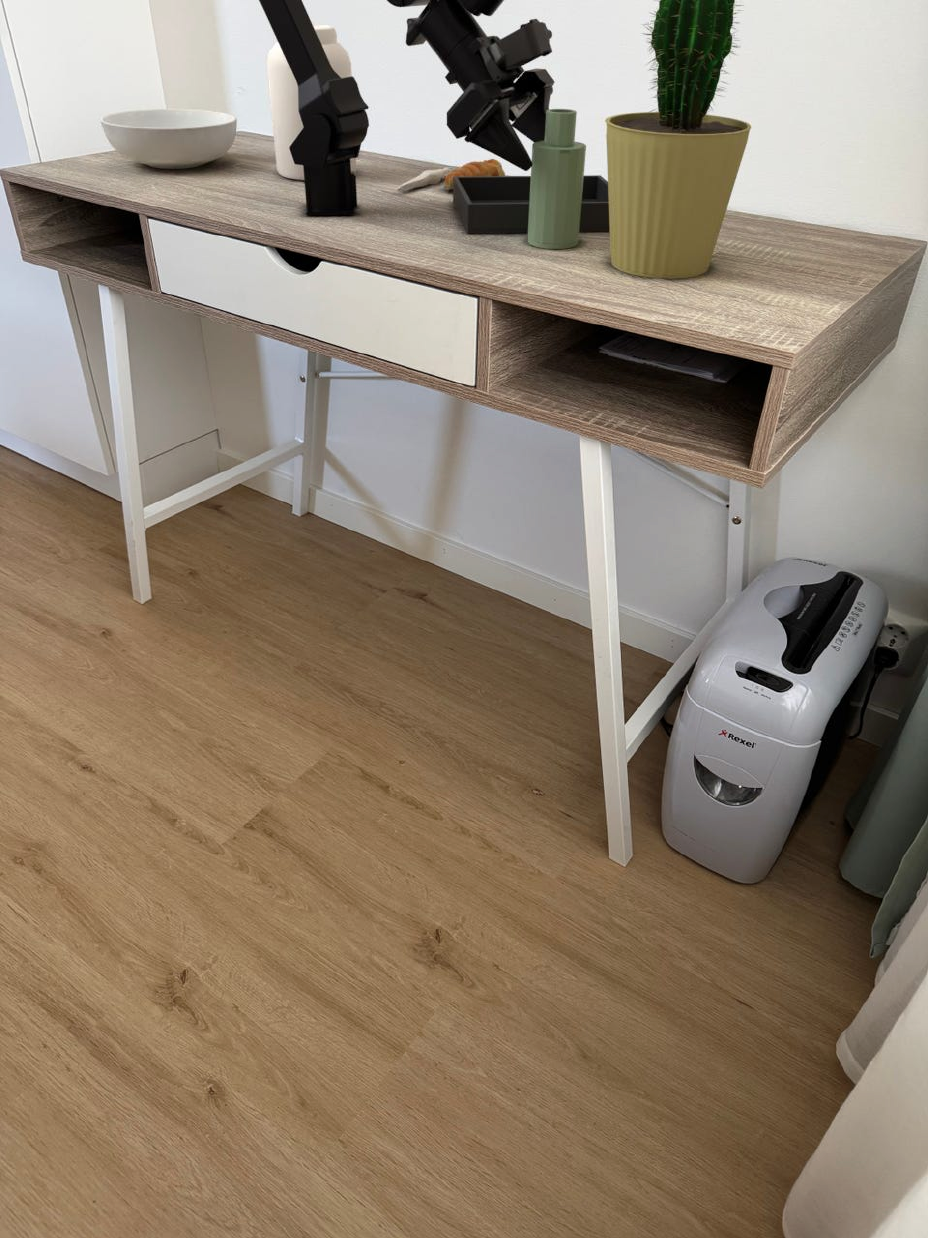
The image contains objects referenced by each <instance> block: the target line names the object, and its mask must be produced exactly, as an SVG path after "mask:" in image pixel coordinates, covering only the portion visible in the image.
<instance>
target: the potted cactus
mask: <svg viewBox="0 0 928 1238" xmlns="http://www.w3.org/2000/svg"><path fill="white" fill-rule="evenodd" d="M654 2H658V8H656V10H657V11H655V10H652V11H653V12H654V13H652V12H650V11H649V12H648V13H649V14H651V15H654V16H650V17H653V18H654V17H655V18H654V19H653V20H651V23H653V26H650V25H648V23H643V24H640V25H642V26H643V27H644V28H646V29H647V30H648V31H649V33H647V36H651V38H650V37H648V38H646V40H647V44H650V47H649V48H648V49H649V50H648V51H650V52H649V54H648V56H649V55H650V54H651V53H652V52H655V53H654V55H655V56H654V58H653V59H651V60H650V61H649V62H648V63H647V64H646V65H648V64H650V63H651V67H652V68H653V69H652V68H649V69H647V72H649V71H653V72H656V73H654V74H653V75H654V76H655V78H653V81H651V82H649V83H650V84H651V85H653V86H652V87H650V88H649V91H650V90H651V91H652V90H654V89H656V87H657V89H656V94H655V95H654V96H652V97H651V99H655V98H656V99H657V101H656V102H657V108H655V109H652V110H650V111H645V112H644V111H643V112H629V113H620V114H614V115H611V116H608V117H606V118H605V120H604V122H605V123H606V135H605V136H606V138H605V139H606V159H607V164H606V165H607V181H608V196H609V227H610V232H609V253H610V254H609V256H610V258H609V259H610V262H611V263H610V264H611V265H612V266H613V267H614V268H615V269H617V270H618V271H620V272H623V273H626V274H629V275H634V276H639V277H644V278H651V279H686V278H692V277H698V276H700V275H703V274H705V273H706V272H707V271H708V269H709V267H710V265H711V262H712V258H713V255H714V251H715V248H716V245H717V242H718V239H719V235H720V232H721V229H722V225H723V222H724V218H725V215H726V213H727V210H728V207H729V202H730V201H731V197H732V194H733V193H732V192H733V189H734V186H735V183H736V179H737V176H738V174H739V170H740V166H741V164H742V161H743V157H744V154H745V151H746V147H747V144H748V141H749V136H750V131H751V129H752V125H751V124H750V123H748V122H747V121H744V120H740V119H737V118H732V117H727V116H721V115H715V114H714V115H713V114H709V113H710V110H711V111H712V112H713V113H715V112H714V108H713V107H712V106H711V103H713V105H715V102H714V101H713V100H714V99H716V97H715V95H716V96H717V97H718V96H719V97H721V95H720V94H717V93H716V92H719V91H720V92H726V93H727V91H726V90H727V88H726V87H725V88H724V87H723V86H721V87H720V86H719V85H718V84H719V83H720V82H721V83H724V84H728V85H729V83H728V82H725V81H722V80H720V78H721V72H723V73H722V75H725V74H728V75H729V74H730V72H727V71H726V70H724V67H725V65H726V64H725V59H726V58H727V57H728V56H729V58H730V59H732V58H731V55H734V56H739V55H738V54H736V53H735V52H734V51H733V48H736V49H740V46H738V43H734V42H736V41H737V42H739V41H740V39H738V37H737V38H735V37H736V35H735V32H731V30H732V29H734V30H735V31H736V32H738V31H739V30H737V28H735V25H734V24H737V25H739V24H740V22H737V21H734V19H735V18H736V16H735V17H734V15H736V14H737V12H739V11H740V12H741V11H744V10H742V9H738V10H737V9H736V7H742V6H744V4H735V3H736V1H735V0H654ZM741 2H742V3H743V2H744V1H741ZM734 11H735V12H734ZM645 25H646V26H647V27H646V26H645ZM640 34H642V35H646V33H643V32H642V33H641V32H640ZM733 41H734V42H733ZM730 54H731V55H730ZM652 62H653V63H652ZM646 65H645V66H646ZM722 68H723V69H722ZM730 75H731V74H730ZM656 76H657V77H656ZM722 97H723V98H724V97H725V96H723V95H722ZM656 110H657V111H656Z"/></svg>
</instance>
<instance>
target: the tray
mask: <svg viewBox="0 0 928 1238" xmlns="http://www.w3.org/2000/svg"><path fill="white" fill-rule="evenodd" d="M530 181H531V175H505V176H474V177H453V189H452V196H453V197H452V203H453V204H452V205H453V206H454V208H455V210H456V212H457V215H458V216H459V219H460V221H461V223H462V225H463V227H464V229H465V231H466V233H467V234H468V235H471V234H473V235H474V234H475V235H477V234H478V235H479V234H481V235H482V234H528V220H529V201H530ZM603 232H604V233H606V232H607V233H608V232H609V233H610V227H609V196H608V179H605V178H604V177H603V176H602V175H601V174H600V175H597V174H596V175H595V174H594V175H593V174H592V175H591V174H590V175H584V178H583V190H582V202H581V214H580V226H579V233H603Z"/></svg>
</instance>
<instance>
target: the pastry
mask: <svg viewBox="0 0 928 1238" xmlns="http://www.w3.org/2000/svg"><path fill="white" fill-rule="evenodd" d="M445 176H446V177H445V178H444V184H443V187H444V189H446V188H447V189H449V190H450V189H451V190H453V177H474V176H506V172H505V171H504V169H503V166H502V163H501V162H500V161H499V160H497V159H495V158H490V159H487V160H486V159H484V160H483V161H481V160H480V161H476V160H475V161H469V162H467V163H465V164H463V165H462V166H460V167H458V168H455V169H453V170H452V171H451V172H449V173H448V174H445Z"/></svg>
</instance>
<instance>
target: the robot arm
mask: <svg viewBox="0 0 928 1238" xmlns="http://www.w3.org/2000/svg"><path fill="white" fill-rule="evenodd" d="M386 1H387V2H388V3H389V4H390V5H392V6H393V7H397V8H408V7H421V6H422V7H423V6H425V7H424V8H423V10H422V11H421V12H420V14H419V15H418V17H409V18H407V19H406V28H407V29H406V34H405V45H406V46H407V47H413V46H419V45H423V44H425V43H426V42H427V44H428V45H429V46H430V48H431V49H432V51H433V52H434V53H435V55H436V56H437V58H438V59H439V60H440V62H441V63H442V64H443V66H444V67H445V68H446V70H447V71H448V72H447V74H445V76H444V78H445V80H446V81H447V83H448V84H449V85H454V84H455V85H456V84H457V85H458V86H459V88H460V89H461V91H462V93H461V94H460V96H459V97H458V98H457V99H456V100H455V101H454V103H452V106H451V107H450V108H449V109H448V110H447V111H446V126H447V128H448V129H449V130H450V132H451V133H452V135H453V136H454V137H455V139H456V140H458V139H461V138H464V139H463V140H464V142H466V143H471V144H472V145H474V146H477V147H479V148H481V149H483V150H485V151H487V152H489V153H491V154H493V155H495V156H497V157H499V158H500V159H503V160H504V161H506V162H508V163H509V164H511V165H514V166H515V167H517V168H519V169H521V170H523V171H524V172H528V171H529V170H531V167H532V165H533V163H532V158H531V157H530V155H529V152H528V151H527V149H526V148H525V146H524V144H523V142H522V140H521V139H520V137H519V135H518V133H517V132H516V131H518V132H519V133H520V134H521V135H523V136H524V137H526V138H527V139H528V140H530V141H531V142H533V143H534V142H538V141H545V125H546V111H547V110H549V109H550V102H551V95H553V93H554V87H553V86H554V84H555V80H554V79H553V77H552V76H551V75H550V73H549V72H548V70H547V69H546V68H532V69H528V70H525V69H524V68H523V66H525V65H526V64H529V63H530V62H532V61H535V60H536V59H539V58H540V57H546V56H548V55H550V54H552V53H553V50H552V46H551V43H550V42H551V39H552V37H553V32H552V31H551V29H549V28H548V27H547V25H546V22H544V21H539V19H537V18H532V19H529V21H528V22H526V23H522V24H520V26H519V28H518V29H516V30H514V31H513V32H511V33H509V34H508V35H506V36H504V37H502V38H500V37H499V36H498V35H487V34H486V32H485V31H484V30H483V28H482V27H481V25H480V24H479V23H478V21H477V20H476V19H475V17H480V16H481V15H483V16H486V17H492V16H493V15H494V14H495V13H496V11H498V9H499V7H500V6H501V5H502V4H503V2H504V1H505V0H386ZM258 2H259V4H260V6H261V8H262V10H263V12H264V15H265V17H266V19H267V20H268V23H269V25H270V28H271V30H272V32H273V34H274V36H275V39H276V41H277V42H278V43H279V45H280V47H281V50H282V52H283V54H284V56H285V58H286V60H287V63H288V65H289V67H290V69H291V71H292V73H293V76H294V78H295V80H296V82H297V85H298V110H299V114H300V118H301V121H302V124H303V127H304V128H303V129H302V130H301V132H300V133H299V134H298V136H297V137H296V138H295V140H294V141H293V143H292V144H291V145H290V147H289V149H290V152H291V155H292V158H293V161H294V164H296V165H303V170H304V182H303V183H304V194H305V195H304V196H305V215H306V216H326V215H327V216H337V215H340V216H341V215H344V216H345V215H349V216H350V215H354V214H355V209H356V208H357V207H358V196H357V195H358V194H357V193H358V191H357V175H356V171H351V163H350V159H351V158H356V159H357V158H358V157H359V156H360V155H359V154H360V151H361V146H362V143H363V142H364V141H365V139H366V137H367V135H368V130H369V127H370V122H369V117H368V113H367V110H369V108H370V107H369V106H368V104H367V103H366V102H365V100H364V99H363V97H362V95H361V91H360V89H359V85H358V82H357V80H356V79H355V77H354V76H351V77H346V78H341V77H340V76H339V75H338V74H337V73H336V72H335V71H334V70H333V68H332V67H331V65H330V63H329V60H328V58H327V56H326V54H325V51H324V49H323V47H322V45H321V42H320V40H319V38H318V36H317V33H316V31H315V29H314V27H313V24H314V23H313V22H312V20H311V18H310V16H309V13H308V11H307V9H306V6H305V5H304V2H303V0H258ZM511 122H513V123H511Z"/></svg>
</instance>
